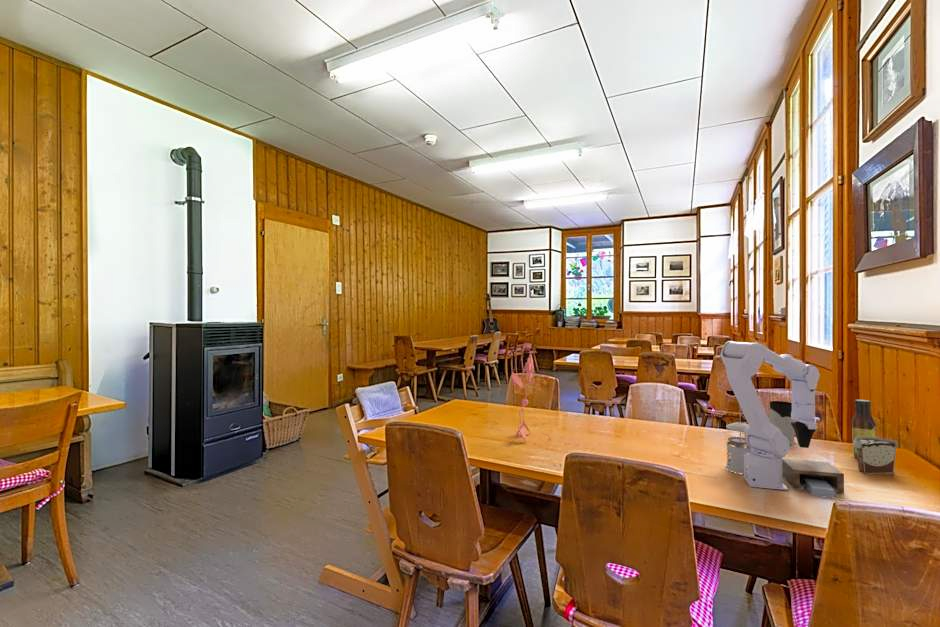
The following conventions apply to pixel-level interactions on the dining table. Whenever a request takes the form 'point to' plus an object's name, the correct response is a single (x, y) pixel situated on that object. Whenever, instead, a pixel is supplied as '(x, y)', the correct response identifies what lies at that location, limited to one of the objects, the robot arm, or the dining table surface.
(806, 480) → the grey rectangular block
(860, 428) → the sauce bottle
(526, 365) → the figurine
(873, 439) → the food container
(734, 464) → the french press
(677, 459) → the dining table surface
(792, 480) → the overhang shelf
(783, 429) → the glass holder
